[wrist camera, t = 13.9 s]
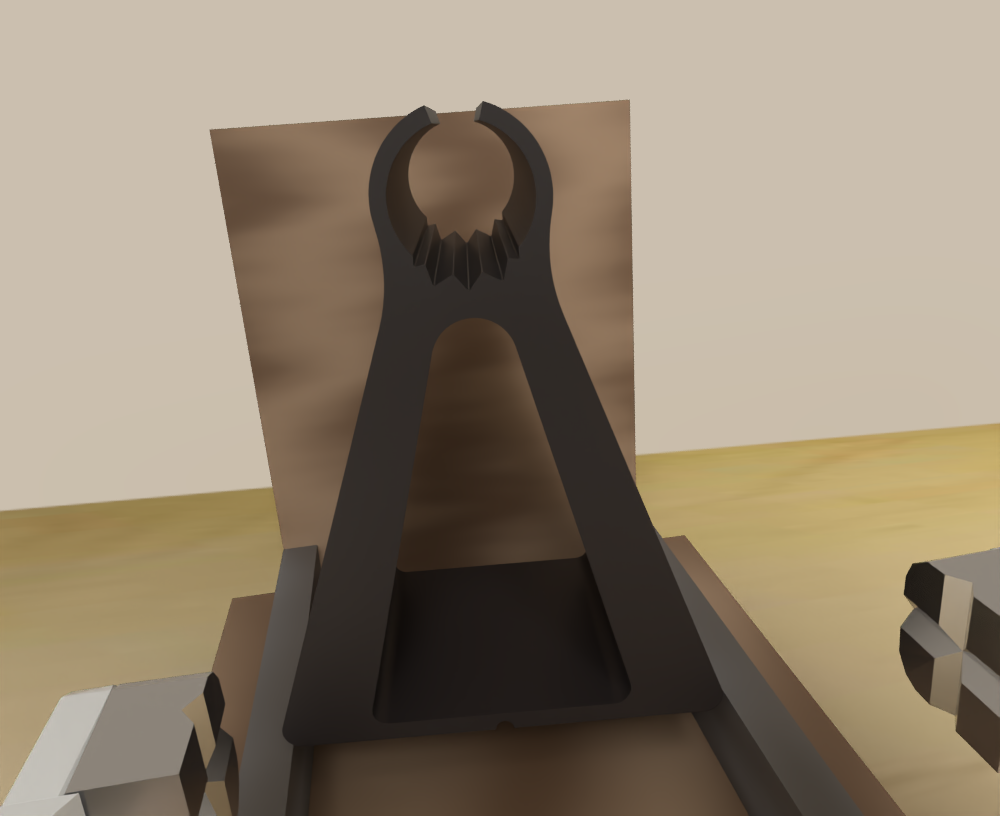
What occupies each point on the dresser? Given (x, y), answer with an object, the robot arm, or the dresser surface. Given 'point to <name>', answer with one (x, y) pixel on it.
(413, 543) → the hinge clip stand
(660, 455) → the dresser surface
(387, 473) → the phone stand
